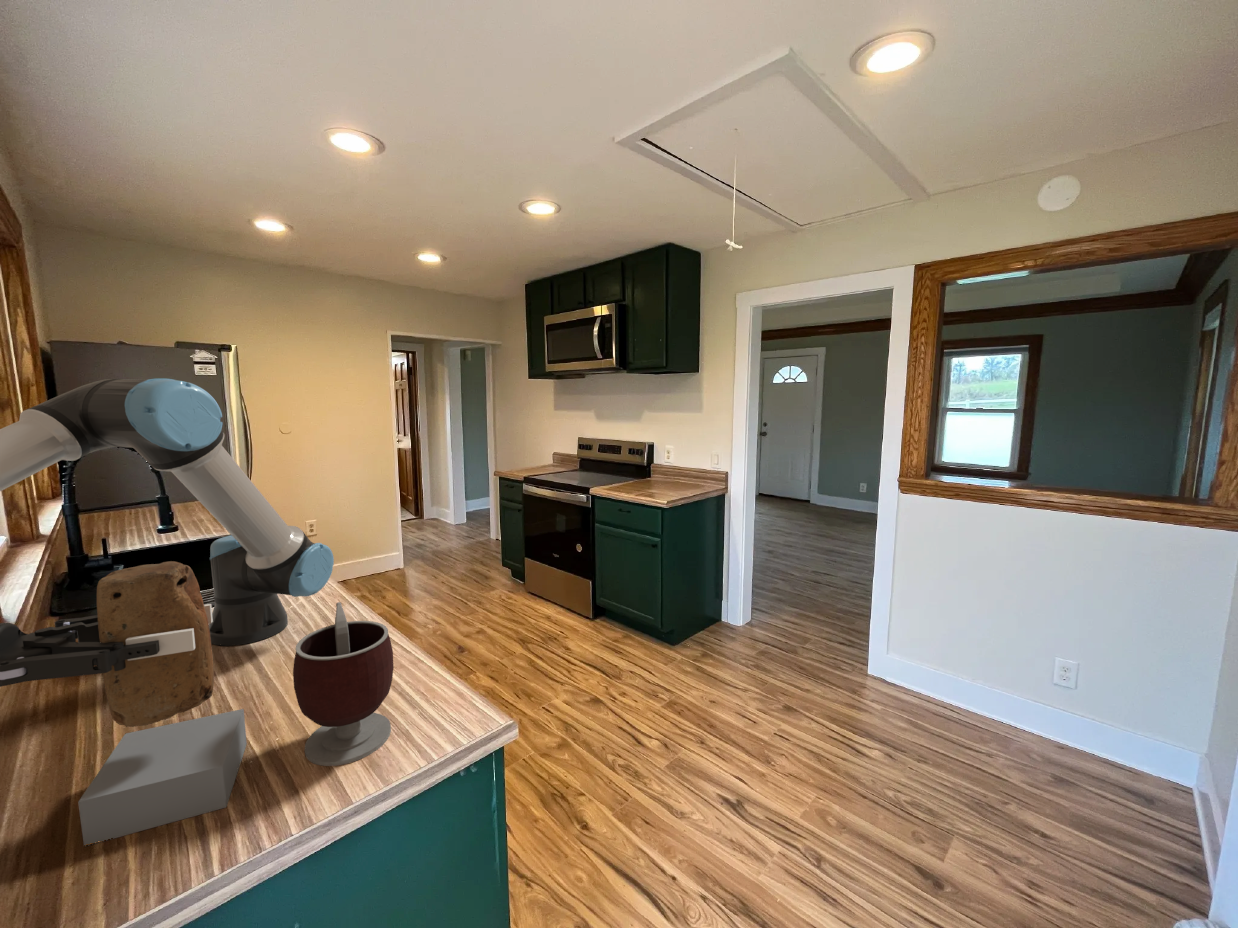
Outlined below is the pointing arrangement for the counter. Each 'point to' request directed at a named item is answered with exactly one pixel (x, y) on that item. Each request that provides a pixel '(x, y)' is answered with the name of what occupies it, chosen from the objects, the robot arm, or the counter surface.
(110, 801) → the grey base block
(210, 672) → the block
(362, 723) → the mate gourd
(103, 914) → the counter surface
